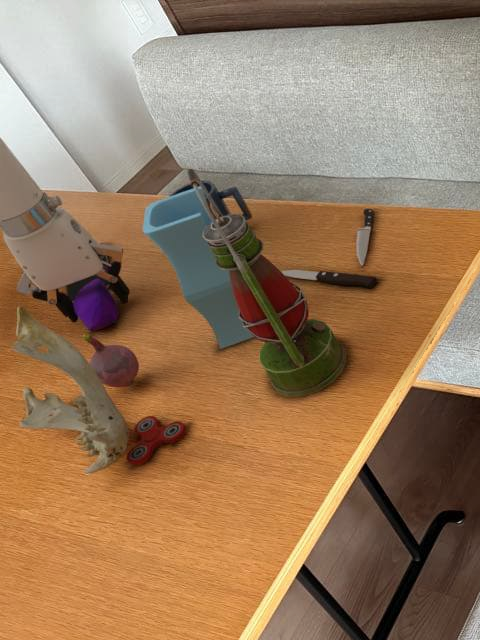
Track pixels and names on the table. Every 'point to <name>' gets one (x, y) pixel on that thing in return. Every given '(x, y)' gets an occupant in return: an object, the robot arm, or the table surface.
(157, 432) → the fidget spinner
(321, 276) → the kitchen knife
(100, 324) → the purple eggplant
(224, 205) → the mug
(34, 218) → the robot arm
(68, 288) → the smartphone
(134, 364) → the vegetable
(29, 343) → the jawbone
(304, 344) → the lantern
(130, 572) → the table surface
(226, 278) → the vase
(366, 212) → the knife
